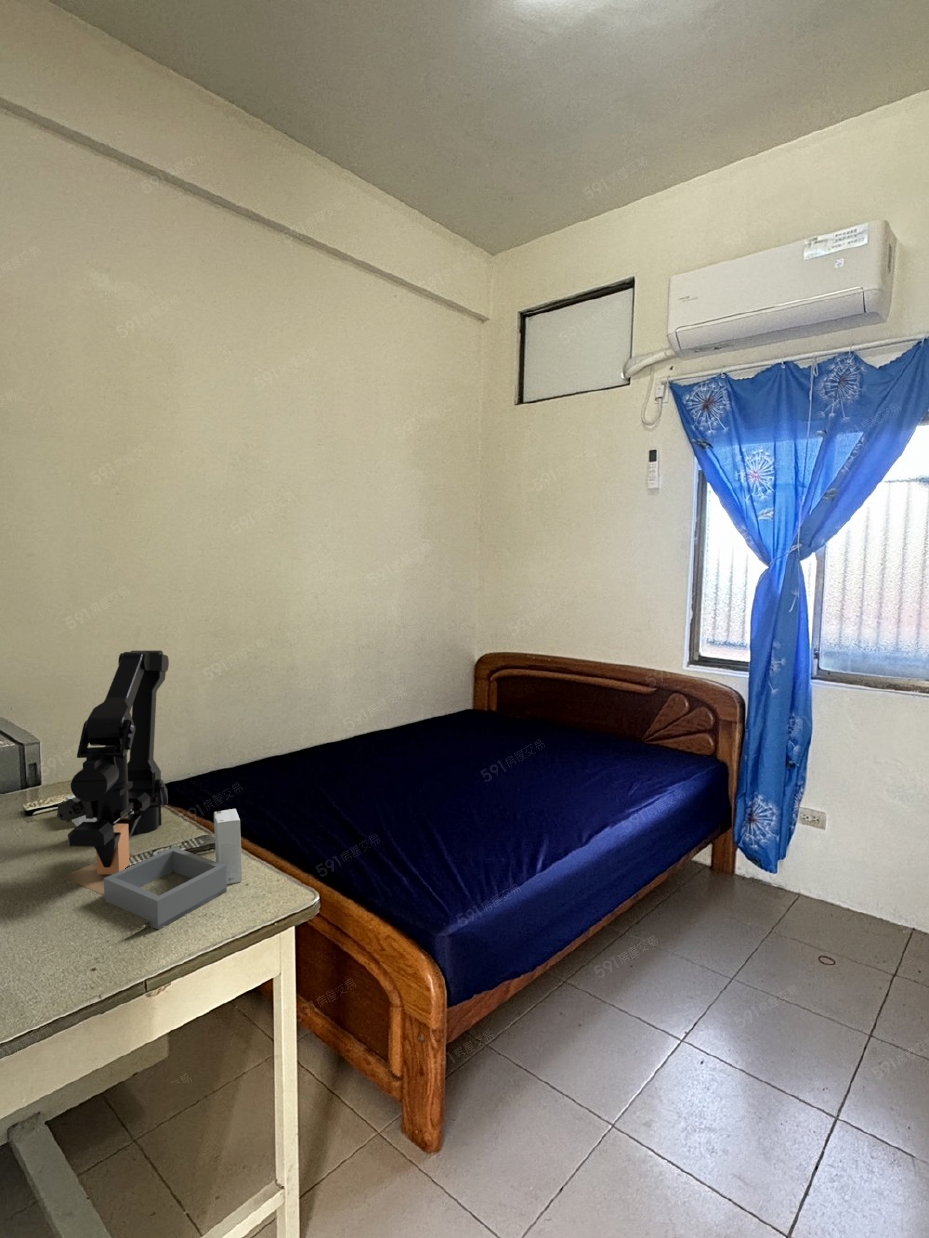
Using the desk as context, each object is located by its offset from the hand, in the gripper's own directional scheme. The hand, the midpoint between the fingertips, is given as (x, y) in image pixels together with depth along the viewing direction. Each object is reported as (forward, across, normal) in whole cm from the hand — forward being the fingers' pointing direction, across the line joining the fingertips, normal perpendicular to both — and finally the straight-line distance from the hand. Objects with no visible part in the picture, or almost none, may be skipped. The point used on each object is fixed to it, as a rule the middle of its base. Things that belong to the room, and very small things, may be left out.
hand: (113, 861), depth 124 cm
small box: (+3, -26, -18) cm, 32 cm away
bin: (+3, +7, +13) cm, 15 cm away
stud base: (+3, 0, 0) cm, 3 cm away
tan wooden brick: (+2, 0, 0) cm, 2 cm away
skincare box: (+3, -1, +21) cm, 21 cm away
